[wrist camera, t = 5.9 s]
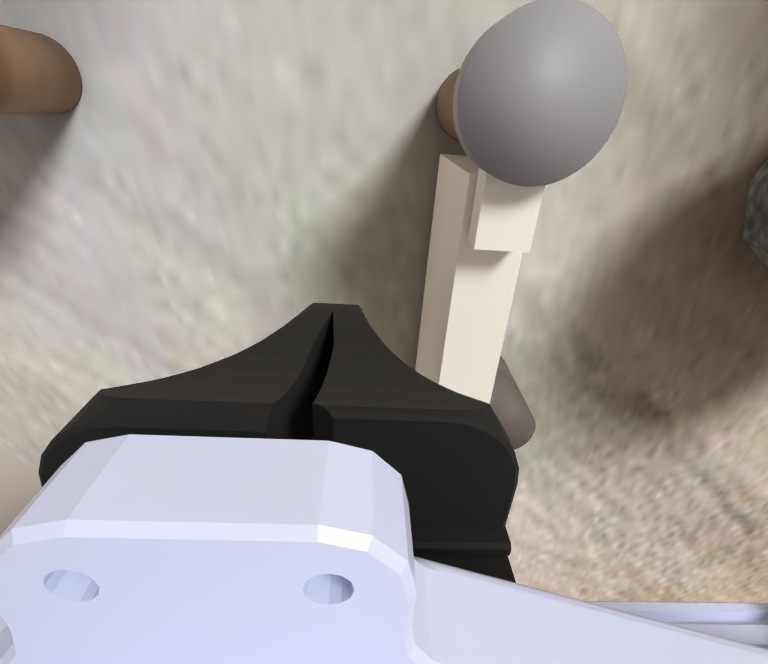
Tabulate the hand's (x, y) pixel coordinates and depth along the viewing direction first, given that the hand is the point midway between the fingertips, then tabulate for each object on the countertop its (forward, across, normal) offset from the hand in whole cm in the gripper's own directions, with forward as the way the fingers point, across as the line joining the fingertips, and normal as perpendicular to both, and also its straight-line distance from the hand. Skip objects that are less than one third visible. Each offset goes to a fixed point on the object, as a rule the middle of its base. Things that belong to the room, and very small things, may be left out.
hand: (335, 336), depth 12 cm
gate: (+4, -4, -1) cm, 5 cm away
